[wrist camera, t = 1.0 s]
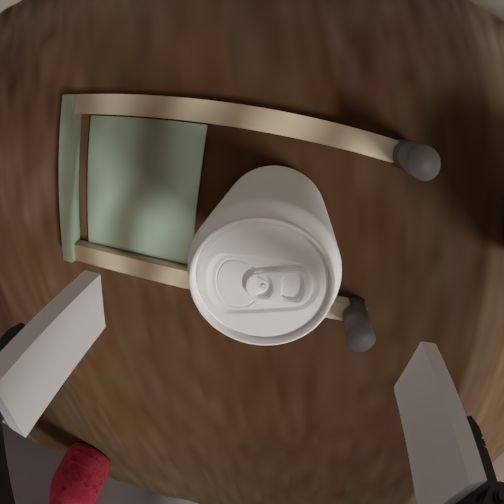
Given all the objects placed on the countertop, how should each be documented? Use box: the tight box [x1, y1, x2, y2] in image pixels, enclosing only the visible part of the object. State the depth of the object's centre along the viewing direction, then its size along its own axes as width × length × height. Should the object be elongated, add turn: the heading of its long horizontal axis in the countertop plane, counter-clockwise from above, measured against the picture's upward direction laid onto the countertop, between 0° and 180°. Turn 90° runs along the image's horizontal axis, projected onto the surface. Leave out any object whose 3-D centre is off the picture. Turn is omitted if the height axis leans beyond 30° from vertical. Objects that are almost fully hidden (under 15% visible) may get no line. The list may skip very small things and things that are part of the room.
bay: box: [59, 94, 441, 352], centre depth 24 cm, size 30×17×5 cm, turn 81°
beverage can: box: [188, 165, 342, 345], centre depth 21 cm, size 8×8×12 cm
